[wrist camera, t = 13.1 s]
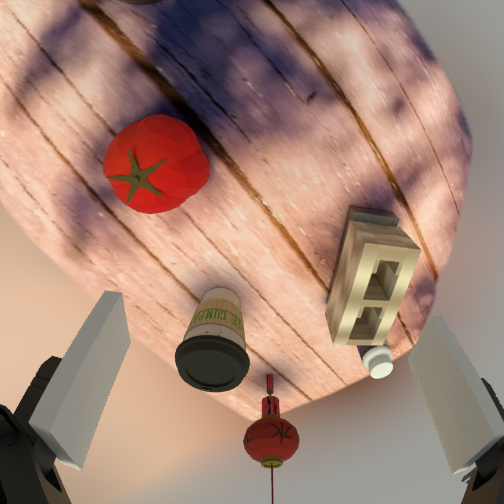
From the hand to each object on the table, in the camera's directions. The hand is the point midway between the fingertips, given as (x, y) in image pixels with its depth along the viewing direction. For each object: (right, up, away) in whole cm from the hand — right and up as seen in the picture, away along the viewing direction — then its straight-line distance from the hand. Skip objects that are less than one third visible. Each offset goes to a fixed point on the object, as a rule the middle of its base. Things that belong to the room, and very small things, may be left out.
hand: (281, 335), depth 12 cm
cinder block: (+15, 0, +32) cm, 36 cm away
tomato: (-12, +17, +28) cm, 34 cm away
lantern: (+2, -21, +47) cm, 51 cm away
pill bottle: (+20, -11, +41) cm, 47 cm away
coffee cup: (-6, -5, +39) cm, 39 cm away
